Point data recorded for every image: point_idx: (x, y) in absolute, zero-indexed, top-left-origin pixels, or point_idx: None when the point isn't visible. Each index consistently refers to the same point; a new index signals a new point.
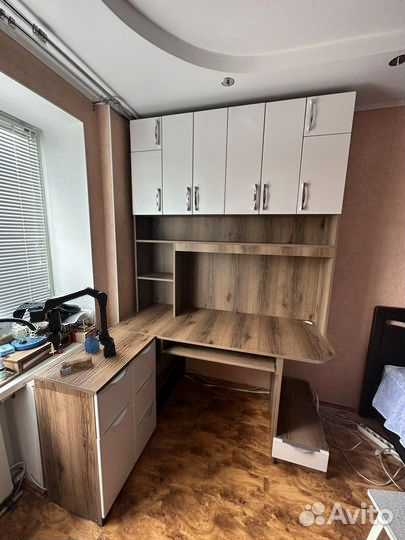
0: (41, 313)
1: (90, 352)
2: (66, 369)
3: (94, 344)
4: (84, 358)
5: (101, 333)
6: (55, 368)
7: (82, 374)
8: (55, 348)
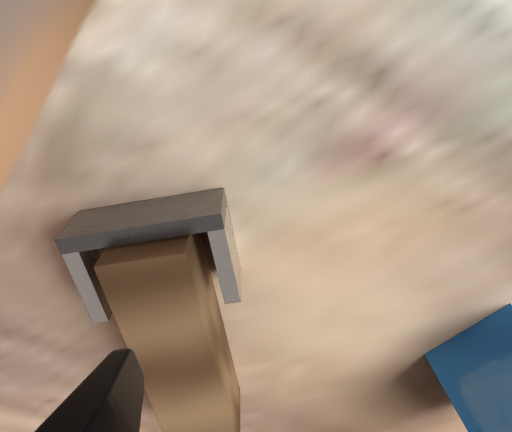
0: None
1: (436, 361)
2: (79, 289)
3: None
4: (210, 414)
5: None
6: (268, 104)
7: (71, 364)
8: (75, 403)
